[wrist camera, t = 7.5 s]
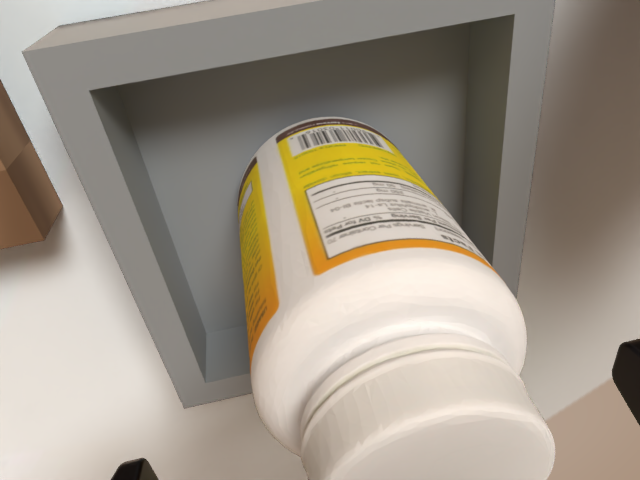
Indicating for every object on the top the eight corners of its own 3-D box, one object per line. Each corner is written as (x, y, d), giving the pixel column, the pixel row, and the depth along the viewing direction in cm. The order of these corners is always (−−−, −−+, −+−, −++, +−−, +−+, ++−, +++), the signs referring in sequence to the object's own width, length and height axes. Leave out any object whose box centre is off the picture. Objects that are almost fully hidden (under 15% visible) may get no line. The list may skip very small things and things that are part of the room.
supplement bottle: (304, 287, 18) (379, 608, 10) (199, 183, 15) (175, 514, 7) (433, 200, 17) (644, 478, 9) (346, 69, 14) (539, 299, 6)
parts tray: (498, -49, 14) (560, -42, 11) (475, 282, 20) (511, 333, 18) (59, 25, 13) (21, 51, 10) (188, 346, 20) (184, 408, 17)
